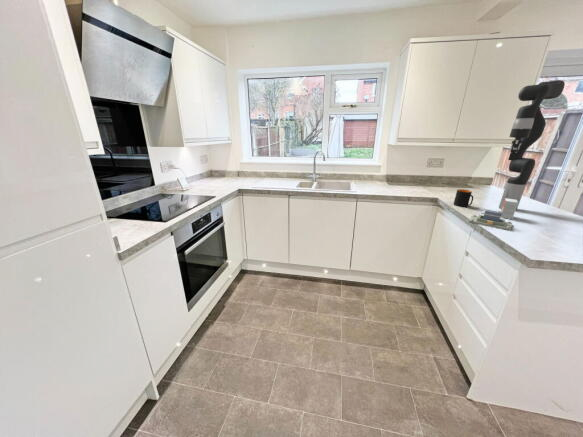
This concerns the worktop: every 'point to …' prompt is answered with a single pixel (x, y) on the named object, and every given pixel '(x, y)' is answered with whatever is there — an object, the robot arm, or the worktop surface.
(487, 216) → the servo
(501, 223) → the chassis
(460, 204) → the mug
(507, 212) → the small box
